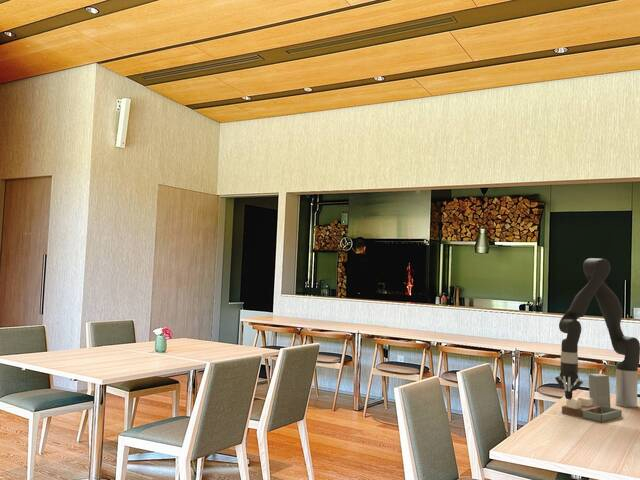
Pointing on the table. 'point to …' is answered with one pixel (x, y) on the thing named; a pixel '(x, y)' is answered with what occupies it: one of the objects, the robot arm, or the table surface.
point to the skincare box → (599, 390)
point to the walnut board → (580, 410)
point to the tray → (603, 415)
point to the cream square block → (573, 403)
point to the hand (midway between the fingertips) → (568, 399)
